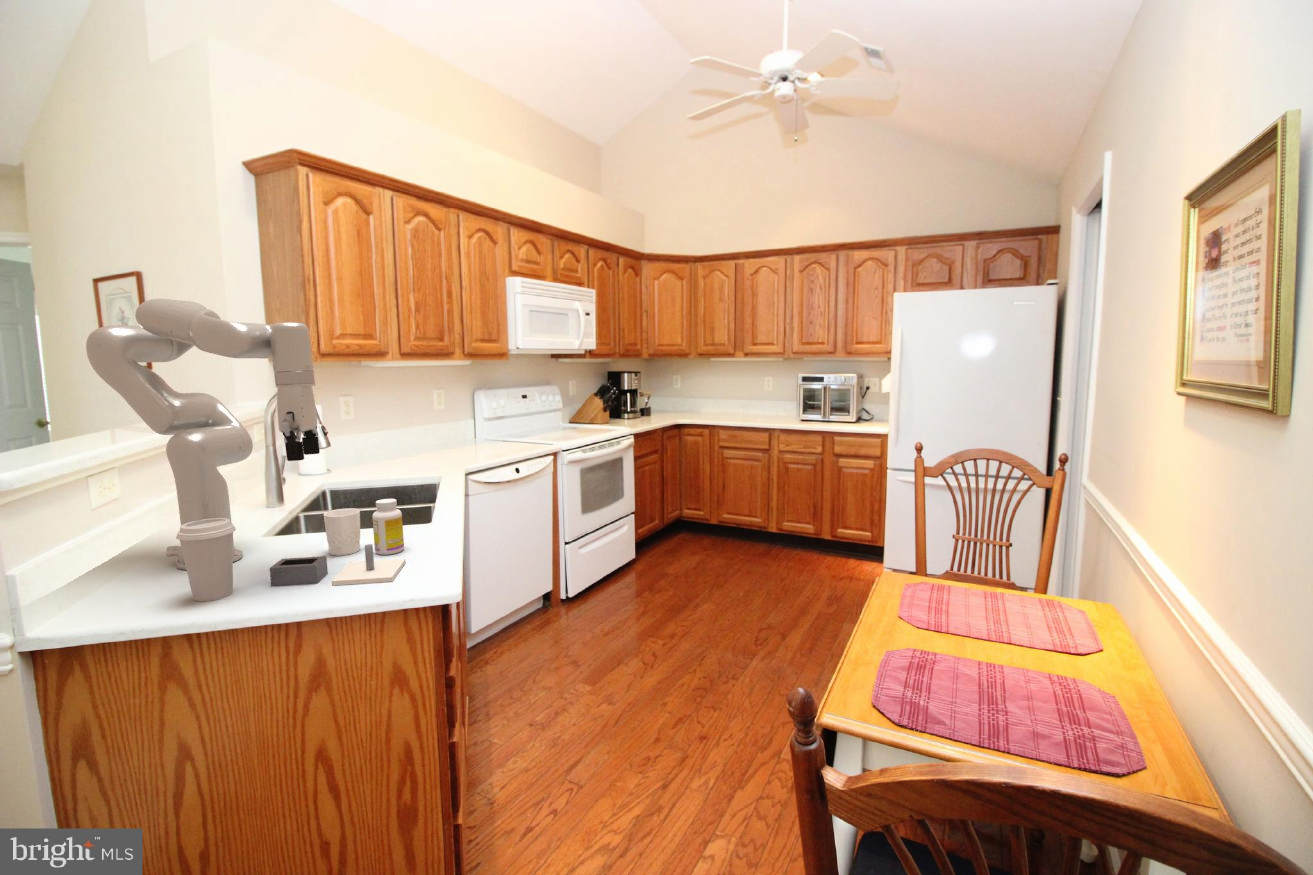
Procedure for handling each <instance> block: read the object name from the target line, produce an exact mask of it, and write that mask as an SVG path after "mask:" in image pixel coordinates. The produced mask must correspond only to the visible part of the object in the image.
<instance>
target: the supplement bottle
mask: <svg viewBox="0 0 1313 875" xmlns="http://www.w3.org/2000/svg"><path fill="white" fill-rule="evenodd" d="M397 503H398V502H397V499H395V498H383V499H379V500H378V499H377V500H376V501H375V507H376V511H374V512H373V513H372V516H371V518H372V528H373V541H374V542H373V545H374V551H375V553H376V554H377V555H383V556H384V555H386V556H387V555H394V554H398V553H401V552H402V551H404V549H405V541H404V540H405V539H404V526H403V514H402V510H400V509H398V508H397Z"/></svg>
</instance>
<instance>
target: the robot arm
mask: <svg viewBox="0 0 1313 875" xmlns="http://www.w3.org/2000/svg"><path fill="white" fill-rule="evenodd" d="M134 314H135V320H136V322H137V324H138V325H129V324H128V325H126V324H124V325H123V324H116V325H106V326H102V327H99V328H96V329H94V330H93V331H91V332H90V333H89V335H88V336H87V339H86V342H85V343H86V344H85V352H86V355H87V359H88V361H89V363H90V365H91V367H92V369H93V371H95V373H96V374H97V375H98V376H99V378H100V379H102V380H103V381H104V382H105V383H106V384H107V385H108V386H109V387H110V388H111V389H113V390H114V391H115V392H116V393H117V394H119V395H120V396H121V397H122V398H123V400H124V401H125V402H126V403H127V404H128V405H129V407H130V408H131V409H132V410H133V411H134V412H135V413H136V415H138V416H139V417H140V419H142V421H143V422H144V423H145V424H146V425H147V426H148V427H149V428H150V429H151V430H152V432H155V433H156V434H159V435H161V436H171V437H170V438H169V439H168V440H167V443H166V446H165V448H166V449H165V452H166V457H167V460H168V463H169V465H170V468H171V471H172V473H173V474H172V475H173V477H174V483H175V490H176V497H177V504H178V505H177V506H178V514H179V523H180V526H181V525H183V524H186V523H189V522H192V521H197V520H203V519H211V518H227V519H229V520H230V522H231V523H232V514H231V504H230V494H229V487H228V484H227V481H226V479H225V477H224V476H223V475H222V474H221V472H220V471H219V469H218V468H217V467H221V466H227V465H231V464H236V463H239V462H242V461H244V460H246V459H248V458H249V457H250V455H251V454H252V452H253V446H254V444H253V439H252V437H251V434H250V433H249V432H248V430H247V429H246V428H245V427H244V425H243V424H241V422H240V421H239V420H238V419H237V417H235V415H234V414H233V413H231V411H230V410H229V409H228V408H227V406H225V404H224V403H223V402H221V400H219V399H218V398H216V397H215V396H213V395H212V394H209V393H204V392H186V393H185V392H184V393H183V392H178V391H176V390H175V389H173V388H172V387H171V386H170V385H169V384H168V383H167V382H166V381H165V379H163V377H161V376H160V375H159V374H158V373H156V372H154V371H152V370H151V369H149V368H147V367H145V366H143V365H141V364H140V363H168V362H172V361H175V360H177V359H179V358H180V357H182V356H183V355H185V354H186V353H187V352H189V350H191V349H192V348H194V347H195V348H197V349H198V350H199V351H202V352H205V353H209V354H212V355H218V356H220V357H226V358H232V359H271V361H272V368H273V377H274V383H275V388H276V389H277V391H276V392H277V393H276V405H277V406H276V407H277V408H276V410H277V411H276V412H277V421H278V423H277V424H278V425H277V426H278V430H279V432H280V433H282V436H283V441H284V445H285V452H286V453H285V454H286V460H287V461H288V462H294V461H295V462H296V461H297V462H298V461H304V460H305V455H306V456H307V455H309V456H310V455H318V454H320V443H319V433H318V430H317V429H318V416H317V413H318V412H317V408H316V402H315V401H316V400H315V396H314V391H313V386H316V383H315V382H316V381H315V380H316V379H315V371H314V362H313V361H314V360H313V353H312V344H311V337H310V336H311V335H310V329H309V327H308V325H306V324H305V323H301V322H295V321H294V322H292V321H291V322H289V321H288V322H275V323H272V324H269V323H268V324H267V323H255V322H254V323H253V322H252V323H251V322H239V321H238V322H237V321H235V322H234V321H230V320H229V321H228V320H225V319H221V317H220V316H219V315H218V313H217V312H216V311H214V310H212V309H209V308H207V307H206V306H204V305H203V304H200V303H199V302H196V301H195V302H194V301H189V300H177V299H168V298H153V299H148V300H146V301H143V302H142V303H140V304H139V305H138V306H137V308H136V309H135V313H134ZM232 524H233V523H232ZM165 551H166V552H165V555H166V557H178V559H177V561H176V567H177V568H178V569H179V570H186V571H187V569H186V565H185V560H184V556H183V552H182V548H181V545H171V546H170V545H169V546H167V547H166V550H165ZM243 556H244V554H243V550H241V549H239V548H235V543H234V540H233V563H234V562H236V561H237V562H238V560H240V559H241V558H243Z"/></svg>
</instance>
